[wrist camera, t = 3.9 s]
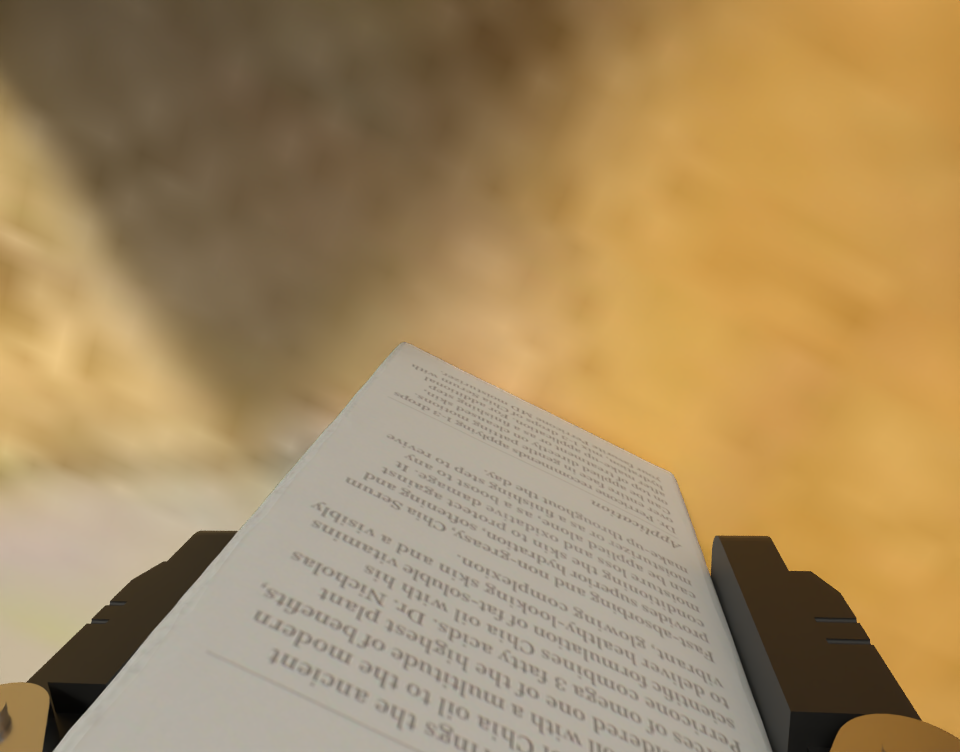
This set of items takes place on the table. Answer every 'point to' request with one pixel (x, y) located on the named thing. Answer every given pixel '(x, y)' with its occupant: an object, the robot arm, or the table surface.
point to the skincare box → (444, 598)
